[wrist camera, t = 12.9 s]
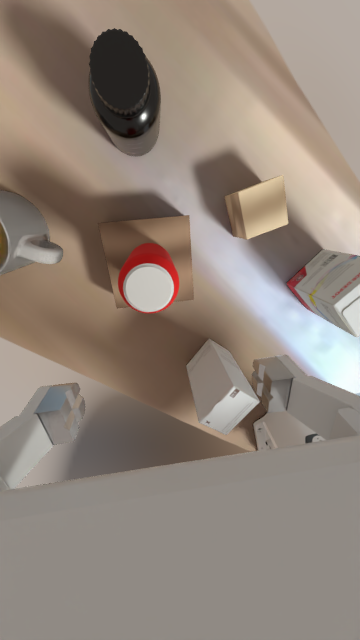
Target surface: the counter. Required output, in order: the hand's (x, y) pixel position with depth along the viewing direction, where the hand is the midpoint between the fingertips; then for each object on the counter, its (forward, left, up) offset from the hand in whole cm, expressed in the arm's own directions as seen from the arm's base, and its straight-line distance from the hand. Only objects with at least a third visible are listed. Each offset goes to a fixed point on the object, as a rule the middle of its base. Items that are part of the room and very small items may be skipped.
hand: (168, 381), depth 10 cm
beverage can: (+1, +1, -24) cm, 24 cm away
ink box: (-6, -29, -29) cm, 42 cm away
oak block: (+7, -15, -29) cm, 33 cm away
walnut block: (+1, +1, -29) cm, 29 cm away
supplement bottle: (+18, +1, -29) cm, 34 cm away
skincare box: (-20, -8, -29) cm, 36 cm away
